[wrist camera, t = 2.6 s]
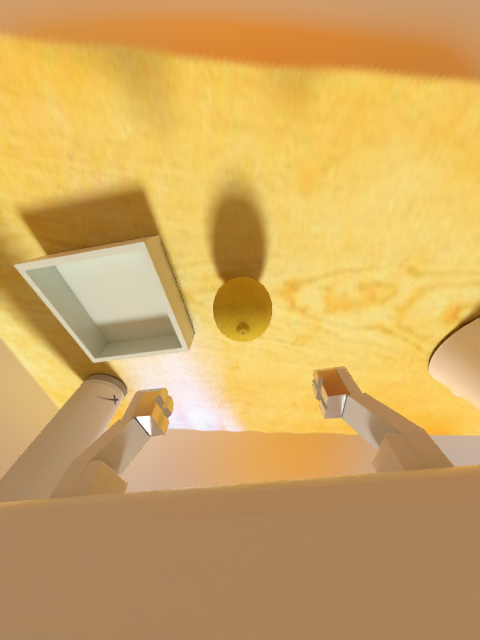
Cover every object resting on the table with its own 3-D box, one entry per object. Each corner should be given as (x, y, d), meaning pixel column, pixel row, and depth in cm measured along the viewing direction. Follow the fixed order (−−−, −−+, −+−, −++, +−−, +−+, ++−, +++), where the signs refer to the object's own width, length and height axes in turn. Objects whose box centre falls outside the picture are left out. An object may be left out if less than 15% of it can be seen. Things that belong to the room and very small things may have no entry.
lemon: (207, 283, 21) (192, 324, 14) (250, 255, 19) (257, 287, 12) (234, 318, 23) (232, 367, 17) (275, 297, 22) (290, 341, 15)
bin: (159, 234, 18) (143, 241, 15) (194, 333, 25) (189, 351, 22) (46, 255, 19) (13, 265, 16) (109, 344, 26) (93, 362, 23)
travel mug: (129, 377, 29) (-19, 618, 13) (126, 401, 33) (5, 616, 16) (85, 367, 28) (-146, 619, 11) (86, 392, 31) (-90, 617, 15)
